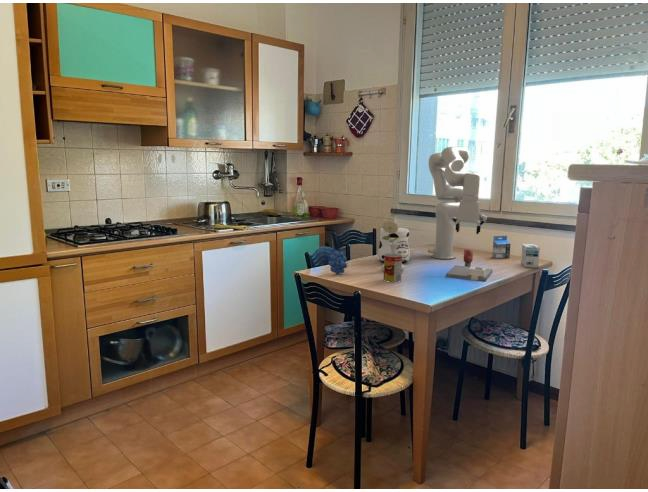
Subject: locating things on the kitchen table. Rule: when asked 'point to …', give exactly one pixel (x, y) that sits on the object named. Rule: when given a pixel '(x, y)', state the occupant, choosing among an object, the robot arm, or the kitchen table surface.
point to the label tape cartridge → (501, 247)
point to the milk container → (402, 240)
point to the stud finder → (477, 271)
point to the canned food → (392, 267)
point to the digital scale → (466, 273)
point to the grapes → (338, 262)
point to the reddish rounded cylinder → (468, 257)
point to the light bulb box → (530, 255)
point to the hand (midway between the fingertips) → (467, 232)
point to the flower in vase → (390, 228)
